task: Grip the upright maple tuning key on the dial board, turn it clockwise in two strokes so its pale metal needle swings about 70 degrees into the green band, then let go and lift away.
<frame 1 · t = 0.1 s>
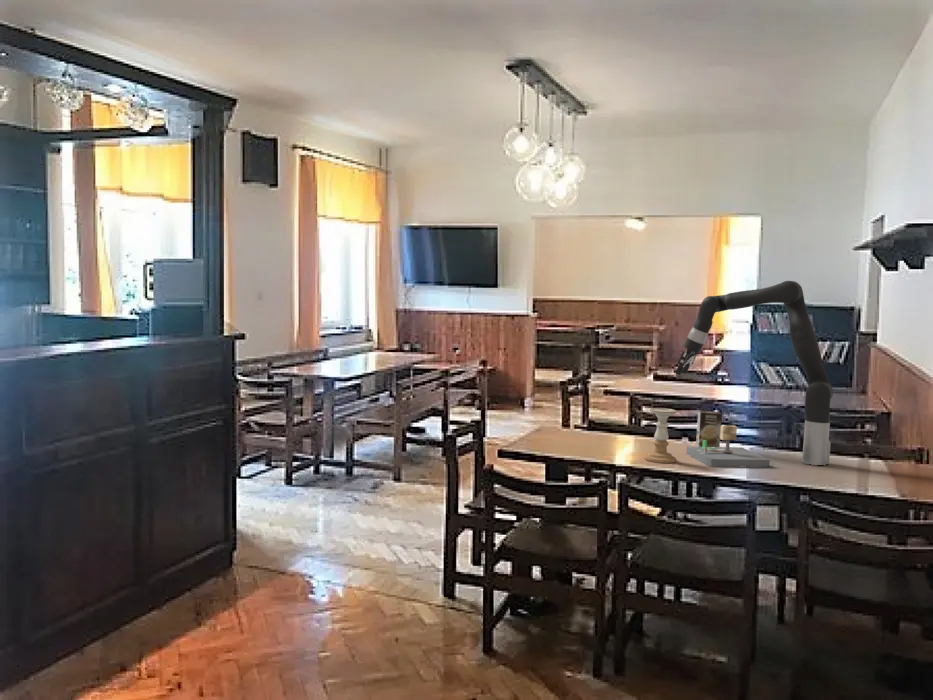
hand: (680, 373, 374), 31 cm above the table, tool tilted 20°, fingers open, 8 cm apart
dial board: (726, 460, 347), on the table
candle holder: (660, 460, 343), on the table
coffee box: (707, 449, 370), on the table
tuning key: (720, 439, 345), point 9 cm above the table, hinge at 0.0°
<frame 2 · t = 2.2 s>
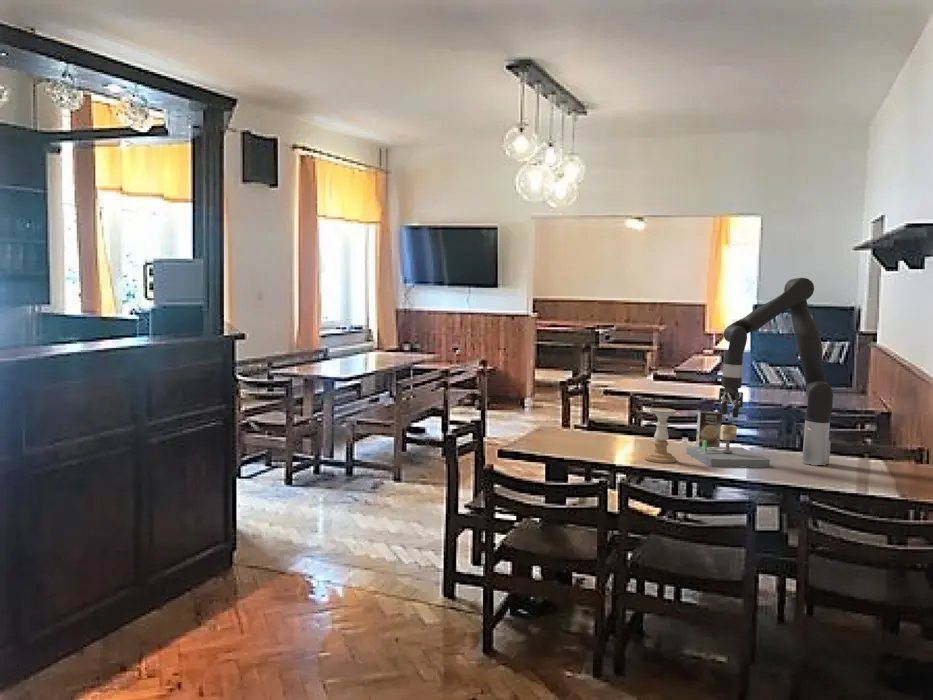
hand: (729, 415, 346), 18 cm above the table, tool pointing down, fingers open, 8 cm apart
nothing on the table moved.
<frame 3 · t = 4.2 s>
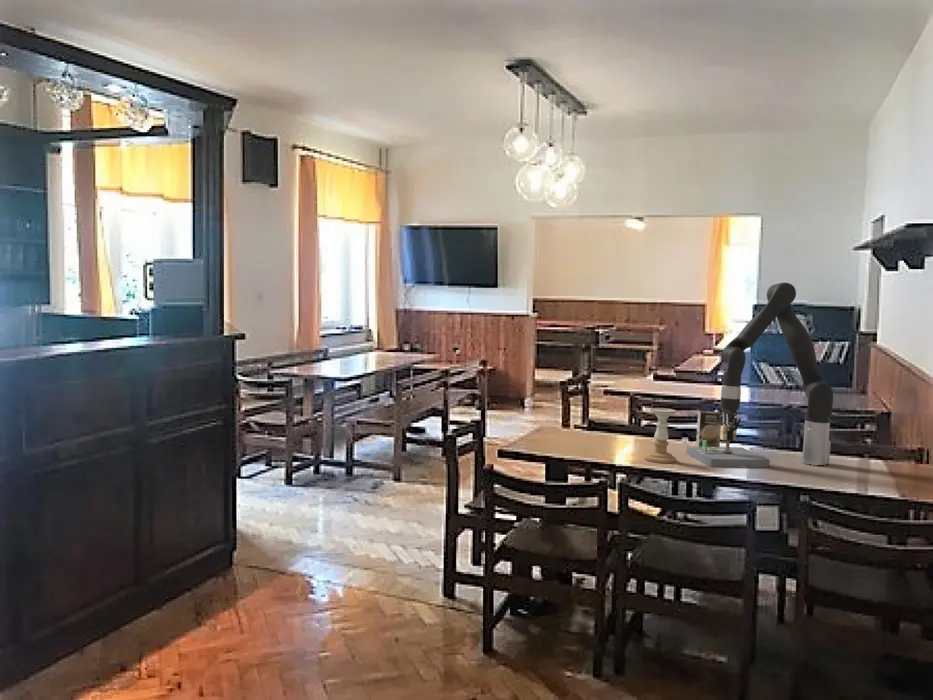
hand: (728, 439, 346), 9 cm above the table, tool pointing down, fingers closed on tuning key, 2 cm apart
tuning key: (720, 439, 345), point 9 cm above the table, hinge at 0.0°, touching gripper
everything else where it was.
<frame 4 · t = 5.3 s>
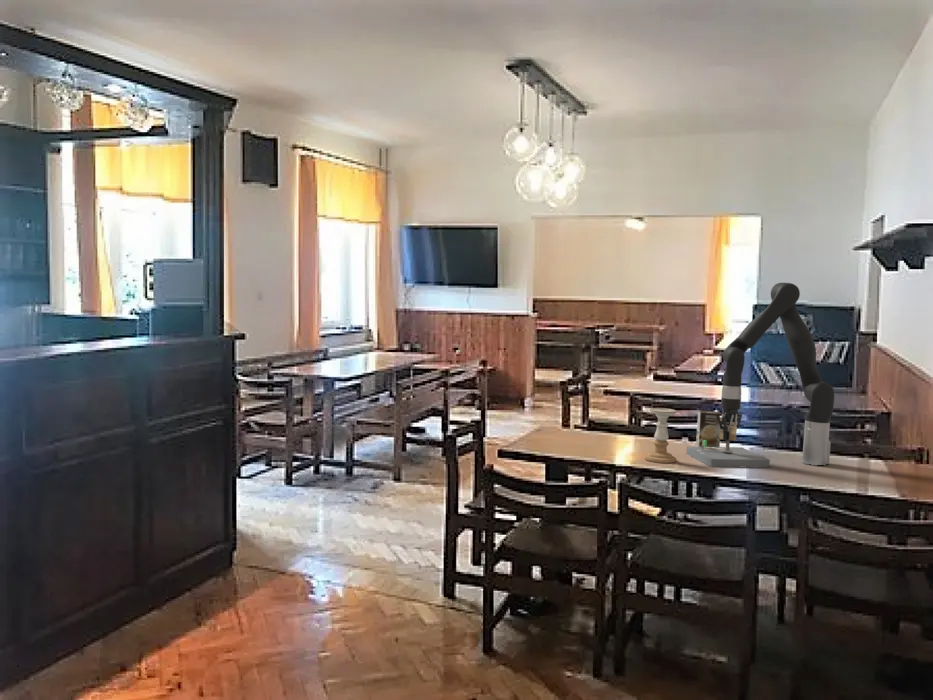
hand: (728, 439, 346), 9 cm above the table, tool pointing down, fingers closed on tuning key, 3 cm apart
tuning key: (719, 438, 347), point 9 cm above the table, hinge at -34.6°, touching gripper
everything else where it was.
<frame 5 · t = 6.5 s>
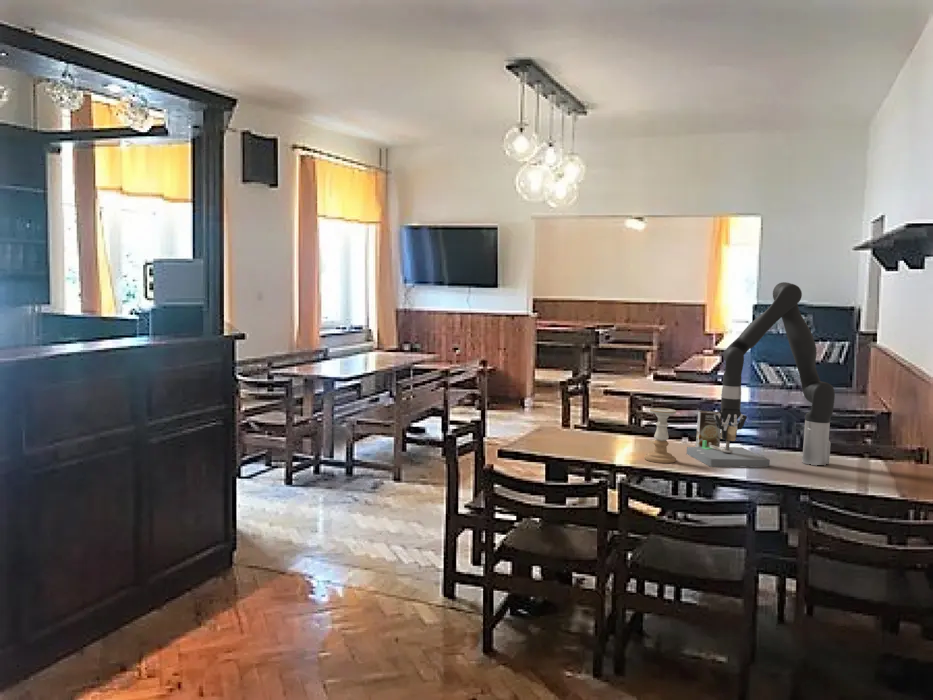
hand: (728, 439, 346), 9 cm above the table, tool pointing down, fingers closed on tuning key, 3 cm apart
tuning key: (721, 437, 349), point 9 cm above the table, hinge at -74.3°, touching gripper
everything else where it was.
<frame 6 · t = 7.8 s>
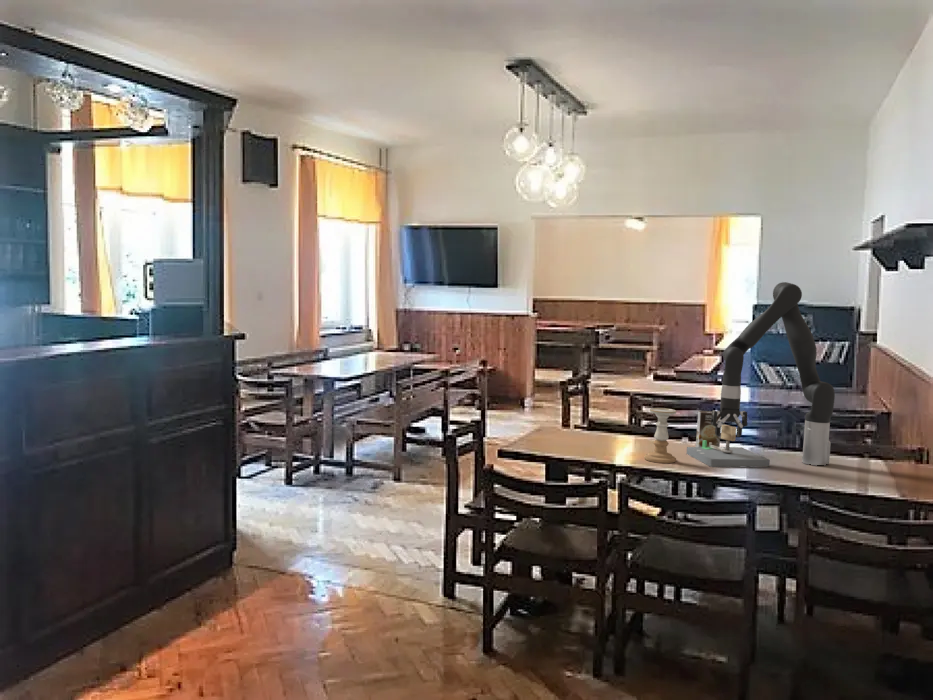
hand: (728, 436, 346), 10 cm above the table, tool pointing down, fingers open, 8 cm apart
tuning key: (721, 437, 349), point 9 cm above the table, hinge at -75.9°
everything else where it was.
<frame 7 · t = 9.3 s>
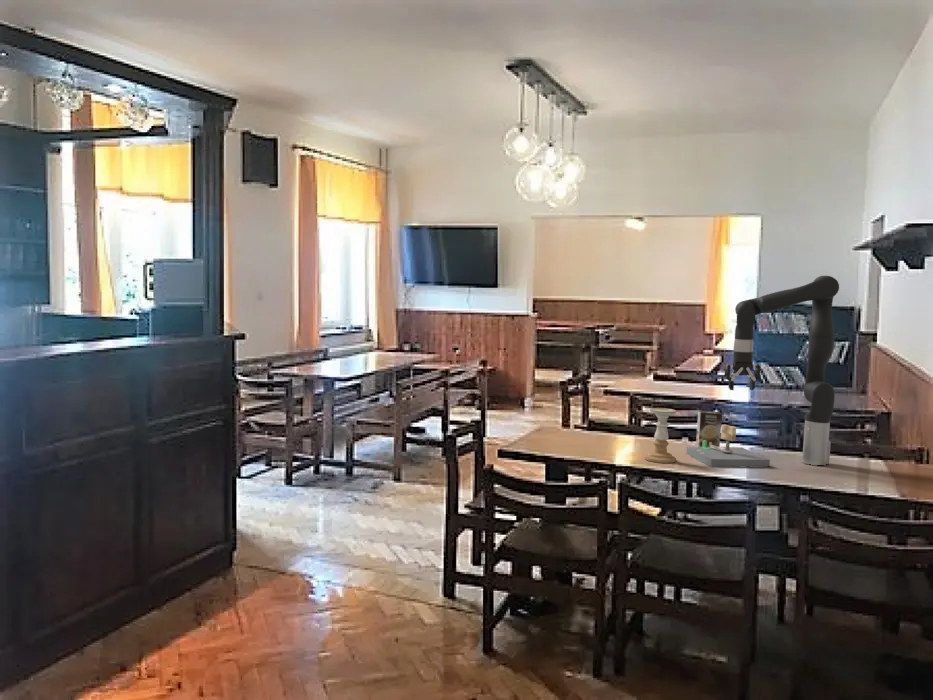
hand: (741, 390, 351), 28 cm above the table, tool pointing down, fingers open, 8 cm apart
nothing on the table moved.
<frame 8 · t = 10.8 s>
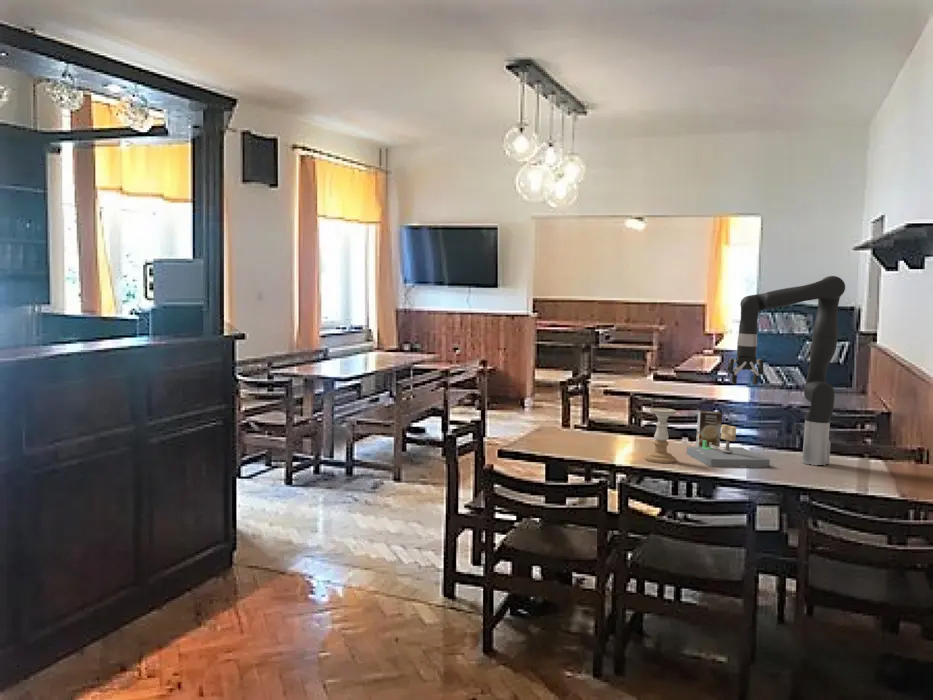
hand: (744, 384, 353), 30 cm above the table, tool pointing down, fingers open, 8 cm apart
nothing on the table moved.
at the end: tuning key at -76° (first picture: +0°); the gripper is holding nothing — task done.
